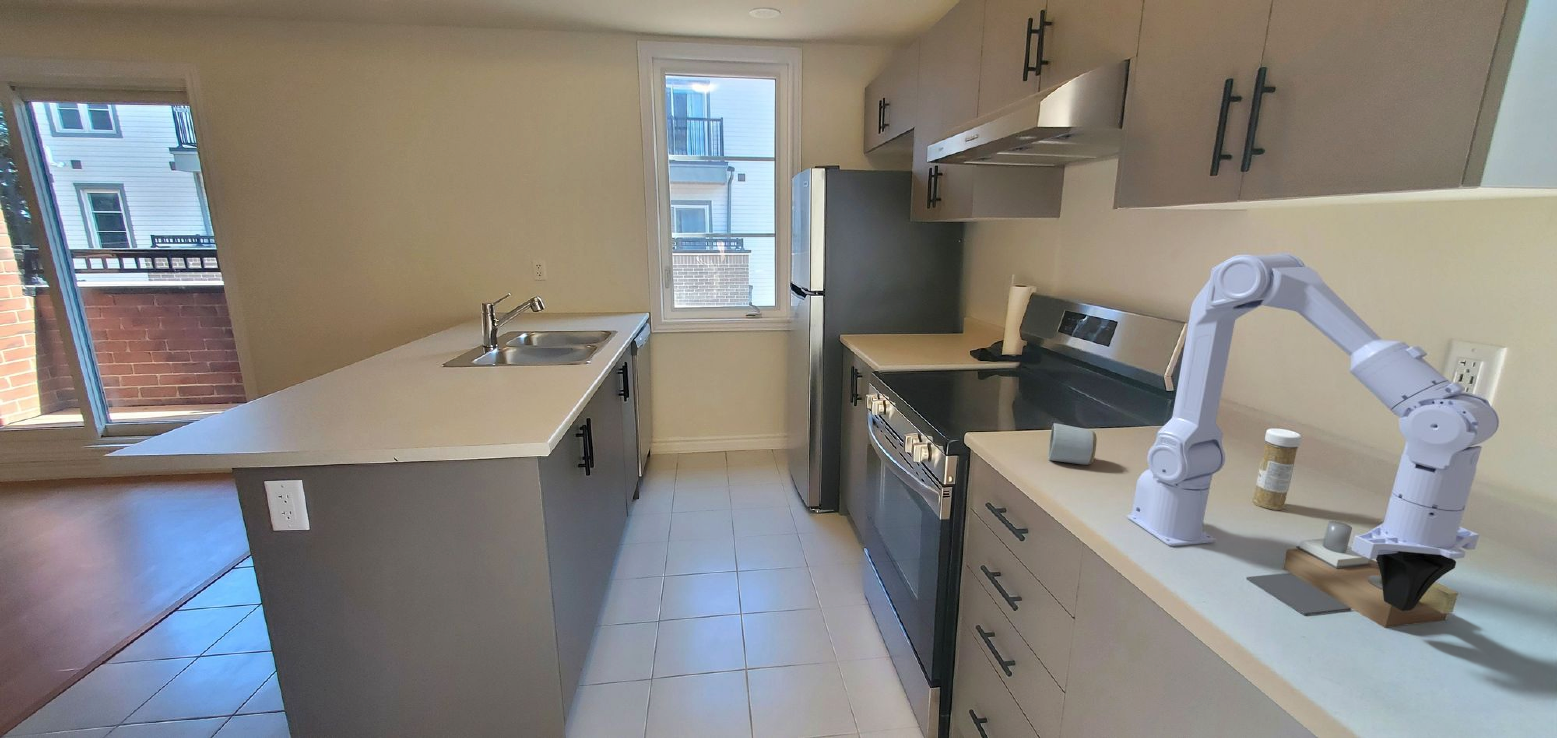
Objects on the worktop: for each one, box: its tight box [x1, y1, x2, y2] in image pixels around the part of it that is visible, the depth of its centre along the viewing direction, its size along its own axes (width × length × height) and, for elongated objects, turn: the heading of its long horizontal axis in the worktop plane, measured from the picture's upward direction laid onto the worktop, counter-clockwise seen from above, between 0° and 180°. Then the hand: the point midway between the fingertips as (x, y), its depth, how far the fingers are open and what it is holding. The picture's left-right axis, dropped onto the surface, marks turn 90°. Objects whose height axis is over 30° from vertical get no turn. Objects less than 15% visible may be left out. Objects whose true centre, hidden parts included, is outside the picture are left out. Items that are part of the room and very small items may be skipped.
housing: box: [1282, 545, 1449, 628], centre depth 80 cm, size 13×9×3 cm
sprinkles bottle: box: [1252, 428, 1302, 511], centre depth 104 cm, size 5×5×13 cm
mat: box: [1245, 572, 1352, 616], centre depth 80 cm, size 8×7×1 cm
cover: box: [1299, 520, 1369, 566], centre depth 83 cm, size 5×5×4 cm
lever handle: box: [1379, 575, 1459, 614], centre depth 74 cm, size 7×2×3 cm, turn 9°
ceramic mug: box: [1047, 422, 1098, 466], centre depth 125 cm, size 11×8×8 cm
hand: (1397, 605), depth 72 cm, fingers closed
